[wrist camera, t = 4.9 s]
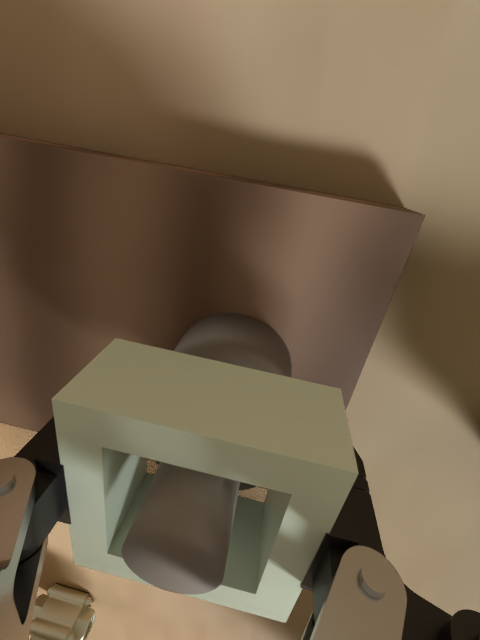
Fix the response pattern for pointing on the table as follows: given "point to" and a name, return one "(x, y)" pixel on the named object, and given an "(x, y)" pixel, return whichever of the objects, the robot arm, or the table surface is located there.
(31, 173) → the board
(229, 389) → the ring
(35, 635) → the pneumatic valve
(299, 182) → the table surface
